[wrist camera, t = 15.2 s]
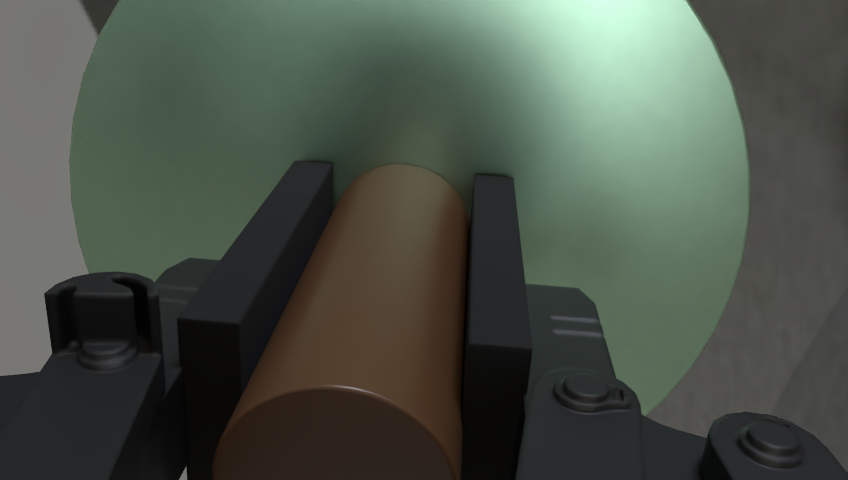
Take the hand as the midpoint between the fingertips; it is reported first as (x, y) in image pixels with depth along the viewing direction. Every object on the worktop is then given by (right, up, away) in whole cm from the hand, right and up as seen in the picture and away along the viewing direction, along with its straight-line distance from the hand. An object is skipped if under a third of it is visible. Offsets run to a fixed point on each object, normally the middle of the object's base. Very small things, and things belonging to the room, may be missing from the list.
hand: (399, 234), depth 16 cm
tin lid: (0, 0, +1) cm, 1 cm away
